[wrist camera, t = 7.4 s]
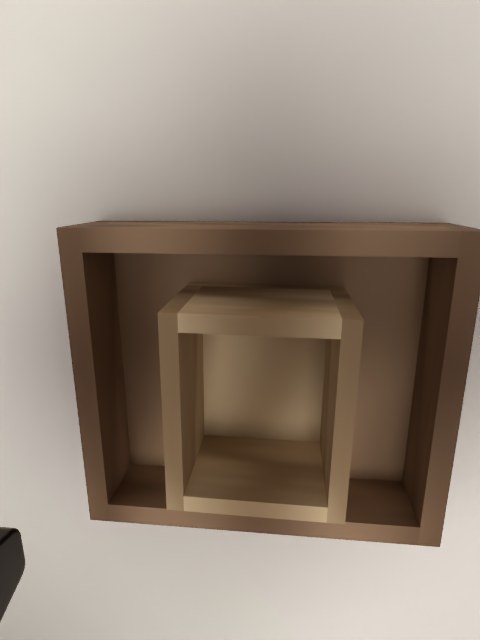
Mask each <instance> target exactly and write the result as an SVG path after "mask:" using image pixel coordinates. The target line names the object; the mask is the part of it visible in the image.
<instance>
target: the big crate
mask: <svg viewBox="0 0 480 640" xmlns="http://www.w3.org/2000/svg"><path fill="white" fill-rule="evenodd" d="M57 236H58V245H59V254H60V262H61V271H62V279H63V288H64V296H65V305H66V314H67V322H68V331H69V339H70V348H71V357H72V365H73V374H74V382H75V391H76V400H77V408H78V417H79V425H80V434H81V442H82V451H83V460H84V468H85V477H86V485H87V494H88V503H89V511H90V520H102V521H115V522H128V523H140V524H153V525H166V526H179V527H192V528H204V529H217V530H230V531H243V532H256V533H268V534H281V535H294V536H307V537H320V538H332V539H345V540H358V541H371V542H384V543H396V544H409V545H422V546H435V547H440V543H441V537H442V530H443V524H444V518H445V511H446V505H447V499H448V492H449V486H450V480H451V473H452V467H453V461H454V454H455V448H456V442H457V435H458V429H459V423H460V416H461V410H462V404H463V397H464V391H465V385H466V378H467V372H468V365H469V359H470V353H471V346H472V340H473V334H474V327H475V321H476V315H477V308H478V302H479V296H480V229H475V228H470V227H465V226H460V225H455V224H450V223H345V222H194V221H96V222H90V223H83V224H77V225H71V226H65V227H58V228H57ZM190 282H191V283H224V284H258V285H291V286H324V287H345V289H346V290H347V292H348V294H349V296H350V297H351V299H352V301H353V302H354V304H355V306H356V308H357V309H358V311H359V313H360V314H361V316H362V318H363V320H364V325H363V336H362V346H361V357H360V368H359V379H358V390H357V401H356V411H355V422H354V433H353V444H352V455H351V466H350V476H349V487H348V498H347V509H346V520H345V524H335V523H323V522H311V521H298V520H286V519H274V518H262V517H250V516H238V515H225V514H213V513H201V512H189V511H177V510H167V506H166V484H165V463H164V441H163V419H162V398H161V376H160V355H159V333H158V312H159V311H160V310H161V309H162V308H163V307H164V306H165V305H166V304H167V303H168V302H170V301H171V300H172V299H173V298H174V297H175V296H176V295H177V294H178V293H179V292H180V291H181V290H182V289H183V288H185V287H186V286H187V285H188V284H189V283H190Z"/></svg>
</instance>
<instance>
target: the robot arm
mask: <svg viewBox="0 0 480 640" xmlns="http://www.w3.org/2000/svg"><path fill="white" fill-rule="evenodd" d="M24 568H25V557H24V551H23V545H22V540H21V534H20V532H19V530H18V529H16V528H6V527H0V621H1V619H2V617H3V615H4V613H5V611H6V609H7V606H8V604H9V602H10V600H11V598H12V596H13V594H14V592H15V589H16V587H17V585H18V583H19V581H20V579H21V577H22V574H23V571H24Z"/></svg>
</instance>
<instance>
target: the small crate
mask: <svg viewBox="0 0 480 640" xmlns="http://www.w3.org/2000/svg"><path fill="white" fill-rule="evenodd" d="M363 325H364V320H363V318H362V316H361V314H360V313H359V311H358V309H357V308H356V306H355V304H354V302H353V301H352V299H351V297H350V296H349V294H348V292H347V290H346V289H345V287H324V286H291V285H258V284H224V283H191V282H190V283H189V284H188V285H187V286H186V287H185V288H183V289H182V290H181V291H180V292H179V293H178V294H177V295H176V296H175V297H174V298H173V299H172V300H171V301H170V302H168V303H167V304H166V305H165V306H164V307H163V308H162V309H161V310H160V311H159V312H158V333H159V355H160V376H161V398H162V419H163V441H164V463H165V484H166V506H167V510H177V511H189V512H201V513H213V514H225V515H238V516H250V517H262V518H274V519H286V520H298V521H311V522H323V523H335V524H345V520H346V509H347V498H348V487H349V476H350V466H351V455H352V444H353V433H354V422H355V411H356V401H357V390H358V379H359V368H360V357H361V346H362V336H363Z"/></svg>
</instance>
